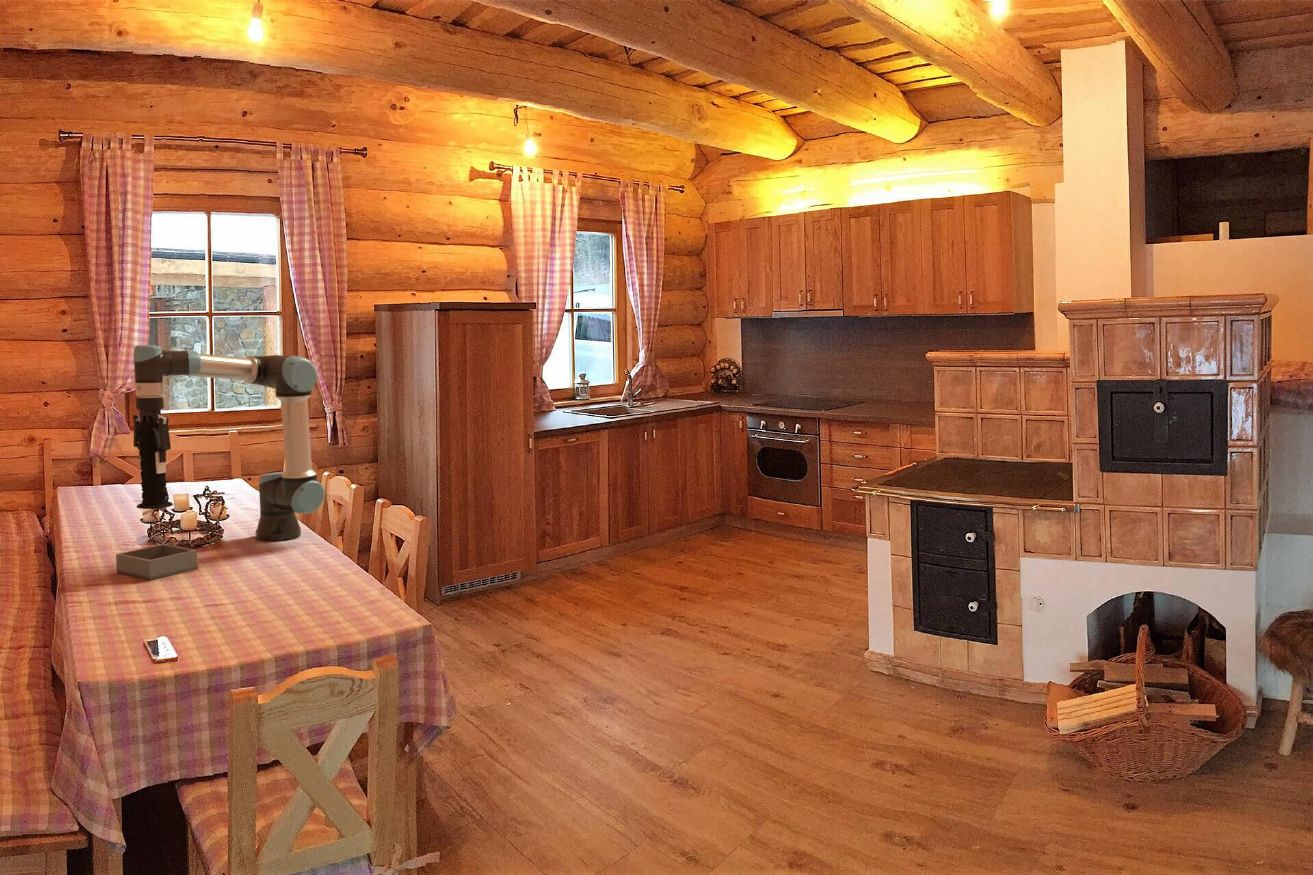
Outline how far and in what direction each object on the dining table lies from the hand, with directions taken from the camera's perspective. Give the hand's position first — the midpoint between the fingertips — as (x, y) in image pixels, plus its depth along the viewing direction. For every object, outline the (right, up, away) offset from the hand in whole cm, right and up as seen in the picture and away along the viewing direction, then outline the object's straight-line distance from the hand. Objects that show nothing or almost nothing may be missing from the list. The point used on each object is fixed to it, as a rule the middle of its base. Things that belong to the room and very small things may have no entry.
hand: (153, 471), depth 307 cm
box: (-1, -31, +4) cm, 31 cm away
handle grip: (0, -11, +1) cm, 11 cm away
